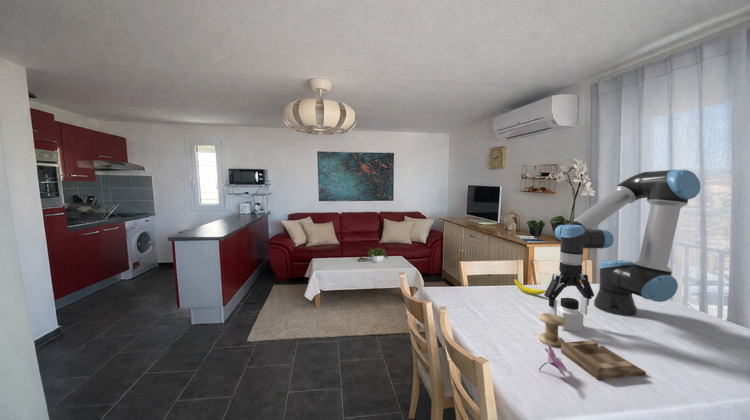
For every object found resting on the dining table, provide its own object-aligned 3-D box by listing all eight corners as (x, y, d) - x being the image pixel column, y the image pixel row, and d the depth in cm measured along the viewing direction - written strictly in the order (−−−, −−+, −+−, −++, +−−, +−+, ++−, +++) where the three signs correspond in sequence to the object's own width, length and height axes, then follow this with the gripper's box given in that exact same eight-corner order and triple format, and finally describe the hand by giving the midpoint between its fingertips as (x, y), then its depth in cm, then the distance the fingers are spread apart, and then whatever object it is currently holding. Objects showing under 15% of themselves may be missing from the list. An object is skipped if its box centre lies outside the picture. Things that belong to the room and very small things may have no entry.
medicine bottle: (583, 332, 109) (584, 302, 108) (563, 330, 110) (564, 301, 109) (574, 323, 116) (575, 295, 115) (555, 322, 117) (556, 294, 116)
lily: (555, 395, 77) (575, 369, 75) (518, 359, 86) (536, 336, 84) (567, 388, 85) (587, 365, 83) (532, 356, 94) (549, 335, 92)
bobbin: (553, 335, 107) (553, 312, 106) (569, 346, 99) (570, 322, 98) (534, 336, 106) (534, 313, 105) (549, 348, 98) (550, 323, 97)
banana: (544, 300, 140) (544, 288, 140) (511, 288, 157) (511, 278, 157) (548, 299, 142) (548, 287, 141) (515, 288, 159) (515, 277, 158)
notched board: (602, 349, 97) (603, 339, 97) (645, 375, 83) (646, 364, 83) (561, 352, 95) (561, 342, 95) (597, 380, 81) (598, 368, 81)
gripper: (590, 259, 116) (587, 308, 118) (535, 261, 114) (533, 311, 115) (607, 264, 109) (604, 316, 110) (549, 266, 106) (546, 319, 107)
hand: (568, 313), depth 112 cm, fingers open, 13 cm apart
